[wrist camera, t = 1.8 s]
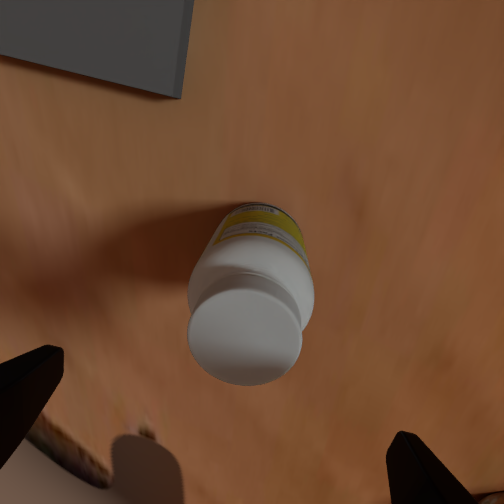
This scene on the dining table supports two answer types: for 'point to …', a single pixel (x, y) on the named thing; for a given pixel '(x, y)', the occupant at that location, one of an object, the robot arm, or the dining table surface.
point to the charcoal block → (103, 39)
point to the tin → (493, 499)
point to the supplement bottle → (250, 297)
